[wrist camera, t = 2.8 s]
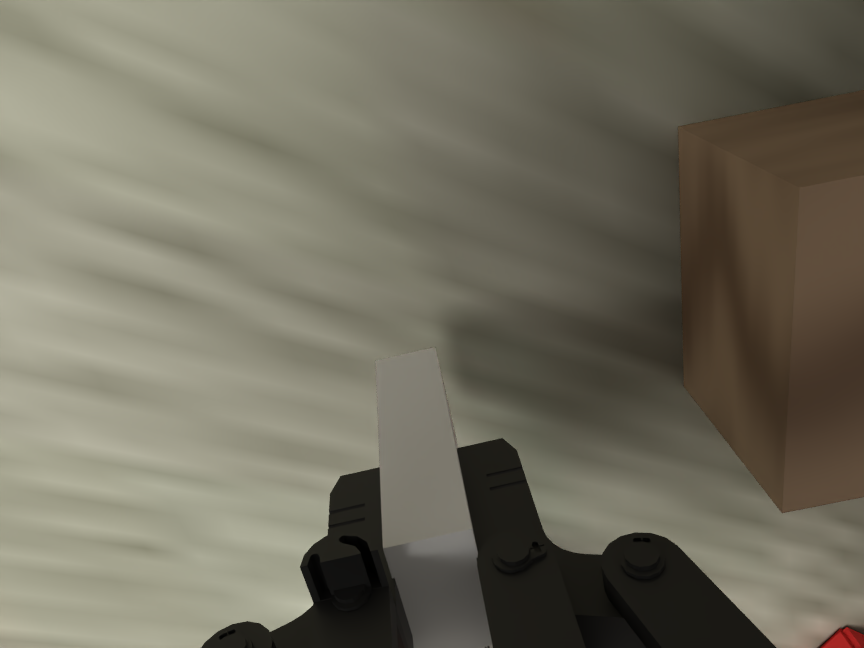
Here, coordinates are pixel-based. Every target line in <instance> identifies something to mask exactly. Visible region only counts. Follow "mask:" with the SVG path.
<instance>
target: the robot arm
mask: <svg viewBox="0 0 864 648" xmlns="http://www.w3.org/2000/svg"><path fill="white" fill-rule="evenodd" d="M375 361H376V386H377V412H378V437H379V463H380V467H379V468H375V469H370V470H366V471H361V472H357V473H352V474H348V475H343V476H340V478H339V480H338V481H337V483H336V485H335V486H334V488H333V490H332V492H331V493H330V506H329V512H330V515H329V523H328V526H329V529H328V536H326V537H324V538H323V539H321V540H320V541H318V542H317V543H315V544H314V545H313V546H312V547H311V548H310V549H309V550H308V552H307V553H306V554H305V555H304V557H303V560H302V563H301V566H300V568H301V571H302V574H303V576H304V579H305V581H306V584H307V587H308V589H309V592H310V595H311V597H312V600H313V602H314V604H313V606H312V607H311V608H310V609H309V610H307V611H306V612H305V613H304V614H303V615H301V616H300V617H298V618H296V619H295V620H293V621H292V622H290V623H288V624H286V625H284V626H282V627H280V628H278V629H276V630H274V631H272V632H269V630H268V629H267V628H265V627H264V626H263V625H261V624H260V623H254V622H248V621H247V622H242V623H237V624H232V625H230V626H228V627H226V628H224V629H222V630H220V631H218V632H217V633H216V634H214V635H213V636H212V637H211V638H210V639H208V640H207V641H206V642H205V643H204V645H203V646H202V648H481V647H486V646H490V645H492V646H493V648H776V647H775V646H774V645H773V644H772V643H771V642H770V641H769V640H768V638H767V637H766V636H765V635H764V634H763V633H762V632H761V631H760V630H759V629H758V628H757V627H756V626H755V625H754V624H753V623H752V622H751V621H750V620H749V619H748V618H747V617H746V616H745V615H744V614H743V613H742V612H741V611H740V610H739V609H738V608H737V607H736V606H735V604H734V603H733V602H732V601H731V600H730V599H729V598H728V597H727V596H726V595H725V594H724V593H723V592H722V591H721V590H720V589H719V588H718V587H717V586H716V585H715V584H714V583H713V582H712V581H711V580H710V579H709V578H708V577H707V576H706V575H705V574H704V573H703V572H702V571H701V569H700V568H699V567H698V566H697V565H696V564H695V563H694V562H693V561H692V560H691V559H690V558H689V557H688V556H687V555H686V554H685V553H684V552H683V551H682V550H681V549H680V548H679V547H678V546H677V545H675V544H674V543H673V542H671V541H670V540H668V539H667V538H665V537H662V536H659V535H655V534H652V533H632V534H628V535H624V536H620V537H619V538H617V539H616V540H614V541H613V542H611V543H610V544H609V545H608V546H607V548H606V549H605V551H604V552H603V554H602V555H591V554H579V553H573V552H570V551H567V550H564V549H561V548H560V547H558V546H556V545H555V544H553V543H552V542H551V541H550V540H549V539H548V538H547V537H546V535H545V533H544V531H543V529H542V525H541V522H540V519H539V516H538V513H537V510H536V507H535V504H534V501H533V498H532V495H531V492H530V489H529V486H528V483H527V481H526V477H525V474H524V471H523V469H522V465H521V462H520V459H519V456H518V453H517V450H516V449H515V448H513V447H512V446H511V445H510V444H509V443H507V442H506V441H505V440H504V439H503V438H501V439H497V440H492V441H488V442H483V443H479V444H474V445H470V446H465V447H461V448H458V444H457V439H456V435H455V430H454V426H453V422H452V417H451V413H450V409H449V404H448V400H447V396H446V391H445V387H444V383H443V378H442V374H441V370H440V365H439V361H438V357H437V352H436V348H435V347H433V348H428V349H424V350H419V351H415V352H411V353H406V354H402V355H397V356H393V357H388V358H384V359H380V360H375Z"/></svg>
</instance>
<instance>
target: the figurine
mask: <svg viewBox="0 0 864 648" xmlns="http://www.w3.org/2000/svg"><path fill="white" fill-rule="evenodd" d="M820 648H864V635H863V634H861V633H859V632H857V631H854V630H852V629H850V628H848V627H846V628H845V629H844V630H843V629H839V630H838V631H837V632H836V633H835V634H834V635H833V636H832V637H831V638H830V639H829V640H827V641H826V642H825V643H824V644H823V645H822V646H821V647H820Z"/></svg>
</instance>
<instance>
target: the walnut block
mask: <svg viewBox="0 0 864 648" xmlns="http://www.w3.org/2000/svg"><path fill="white" fill-rule="evenodd" d="M678 146H679V192H680V238H681V284H682V330H683V375H684V387H685V388H686V390H687V391H688V392H689V394H690V395H691V396H692V397H693V399H694V400H695V401H696V403H697V404H698V405H699V407H700V408H701V409H702V410H703V412H704V413H705V414H706V416H707V417H708V418H709V419H710V421H711V422H712V423H713V425H714V426H715V427H716V428H717V430H718V431H719V432H720V434H721V435H722V436H723V437H724V439H725V440H726V441H727V443H728V444H729V445H730V447H731V448H732V449H733V450H734V452H735V453H736V454H737V456H738V457H739V458H740V459H741V461H742V462H743V463H744V465H745V466H746V467H747V468H748V470H749V471H750V472H751V474H752V475H753V476H754V477H755V479H756V480H757V481H758V483H759V484H760V485H761V487H762V488H763V489H764V490H765V492H766V493H767V494H768V496H769V497H770V498H771V499H772V501H773V502H774V503H775V505H776V506H777V507H778V508H779V510H780V511H781V512H782V513H785V512H790V511H795V510H800V509H805V508H810V507H815V506H820V505H825V504H830V503H835V502H840V501H846V500H851V499H856V498H861V497H864V90H861V91H856V92H851V93H846V94H841V95H836V96H831V97H826V98H821V99H815V100H810V101H805V102H800V103H795V104H790V105H785V106H780V107H775V108H770V109H765V110H760V111H754V112H749V113H744V114H739V115H734V116H729V117H724V118H719V119H714V120H709V121H704V122H699V123H693V124H688V125H683V126H678Z"/></svg>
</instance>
